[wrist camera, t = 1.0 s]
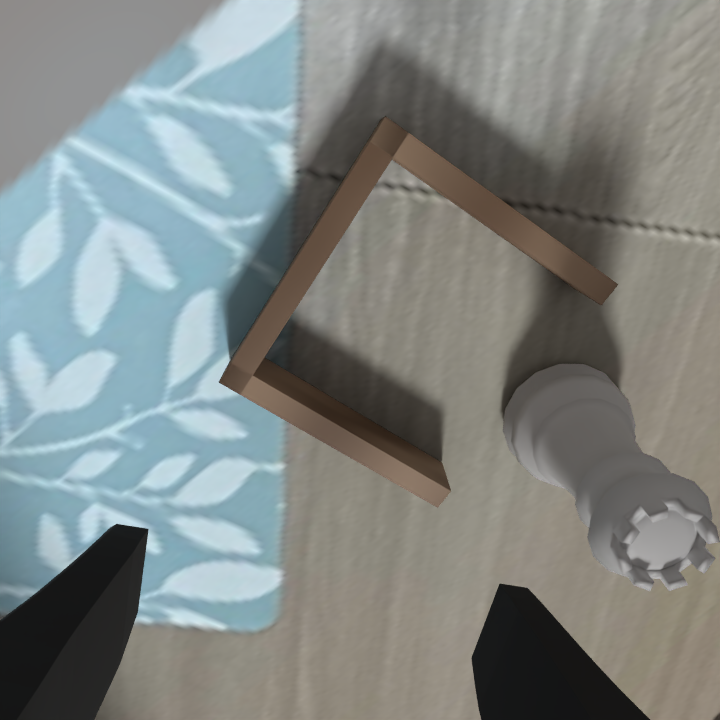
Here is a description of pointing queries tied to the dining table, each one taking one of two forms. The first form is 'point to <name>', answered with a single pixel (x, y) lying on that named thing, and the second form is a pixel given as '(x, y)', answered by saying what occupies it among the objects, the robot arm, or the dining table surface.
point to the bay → (248, 363)
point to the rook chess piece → (609, 475)
